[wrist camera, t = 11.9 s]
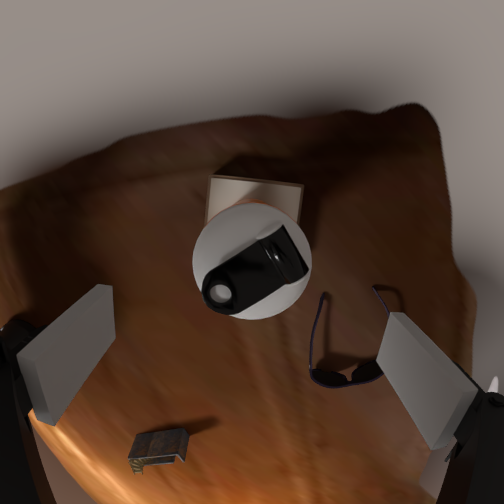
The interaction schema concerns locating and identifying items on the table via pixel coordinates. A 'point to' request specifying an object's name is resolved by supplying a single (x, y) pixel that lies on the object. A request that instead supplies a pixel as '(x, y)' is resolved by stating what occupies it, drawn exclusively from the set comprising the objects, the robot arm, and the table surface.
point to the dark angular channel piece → (158, 448)
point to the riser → (252, 194)
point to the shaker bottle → (251, 261)
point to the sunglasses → (339, 380)
